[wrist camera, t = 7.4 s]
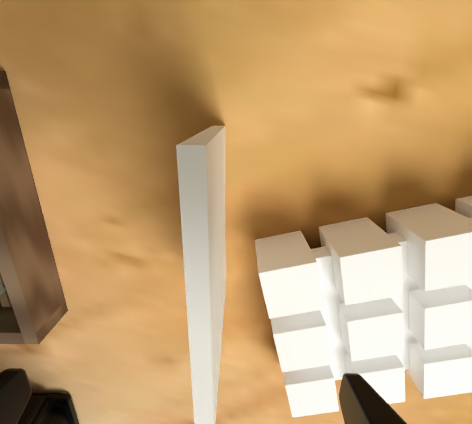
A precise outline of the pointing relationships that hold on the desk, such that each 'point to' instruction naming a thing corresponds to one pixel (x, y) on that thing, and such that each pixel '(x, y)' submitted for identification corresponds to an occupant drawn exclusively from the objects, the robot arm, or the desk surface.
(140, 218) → the desk surface
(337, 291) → the organizer
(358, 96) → the desk surface
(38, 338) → the tray
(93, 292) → the desk surface
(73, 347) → the desk surface
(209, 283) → the sheet
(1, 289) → the offcut upper
